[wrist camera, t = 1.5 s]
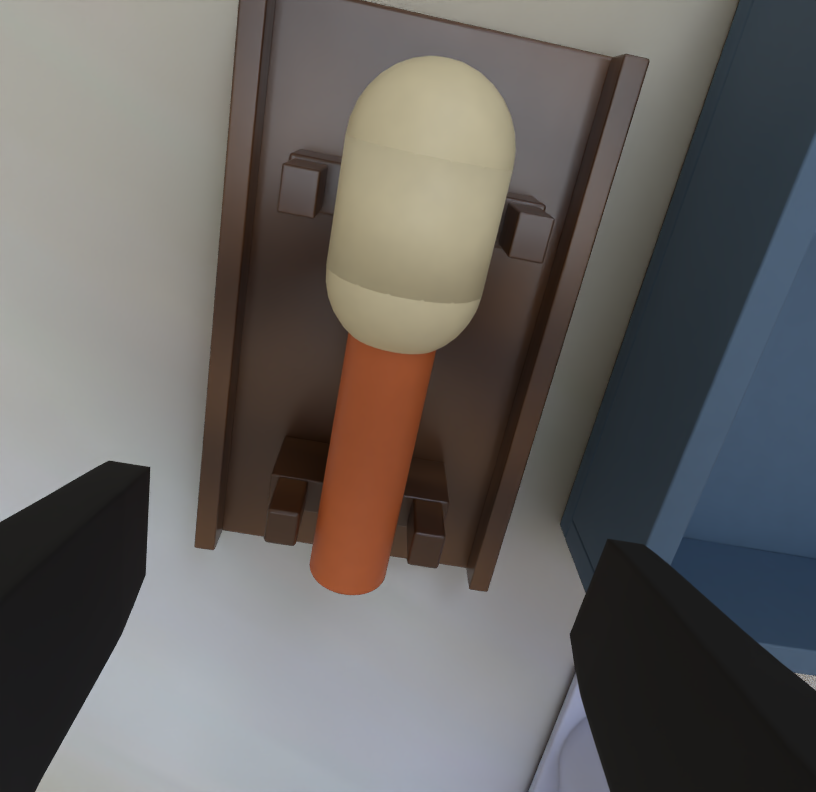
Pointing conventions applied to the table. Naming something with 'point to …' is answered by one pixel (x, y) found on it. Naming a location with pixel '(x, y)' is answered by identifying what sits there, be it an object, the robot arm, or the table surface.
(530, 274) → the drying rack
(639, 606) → the robot arm
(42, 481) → the table surface
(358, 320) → the bottle brush
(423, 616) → the table surface
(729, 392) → the wash tub
